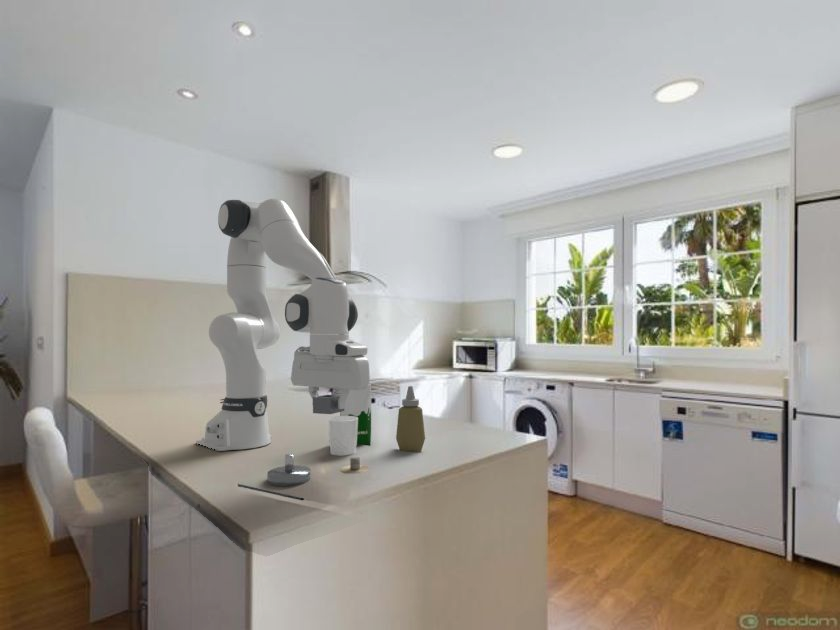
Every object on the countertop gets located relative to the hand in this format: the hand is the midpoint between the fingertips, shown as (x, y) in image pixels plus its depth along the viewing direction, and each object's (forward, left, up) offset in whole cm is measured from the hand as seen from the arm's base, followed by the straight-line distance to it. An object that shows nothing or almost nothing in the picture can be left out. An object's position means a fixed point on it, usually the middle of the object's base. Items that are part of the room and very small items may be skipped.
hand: (328, 407), depth 103 cm
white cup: (-8, +16, -16) cm, 24 cm away
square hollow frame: (0, 0, -1) cm, 1 cm away
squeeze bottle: (+6, +28, -16) cm, 33 cm away
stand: (+4, +5, -16) cm, 17 cm away
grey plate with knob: (-4, -8, -16) cm, 18 cm away
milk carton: (-12, +27, -16) cm, 34 cm away
